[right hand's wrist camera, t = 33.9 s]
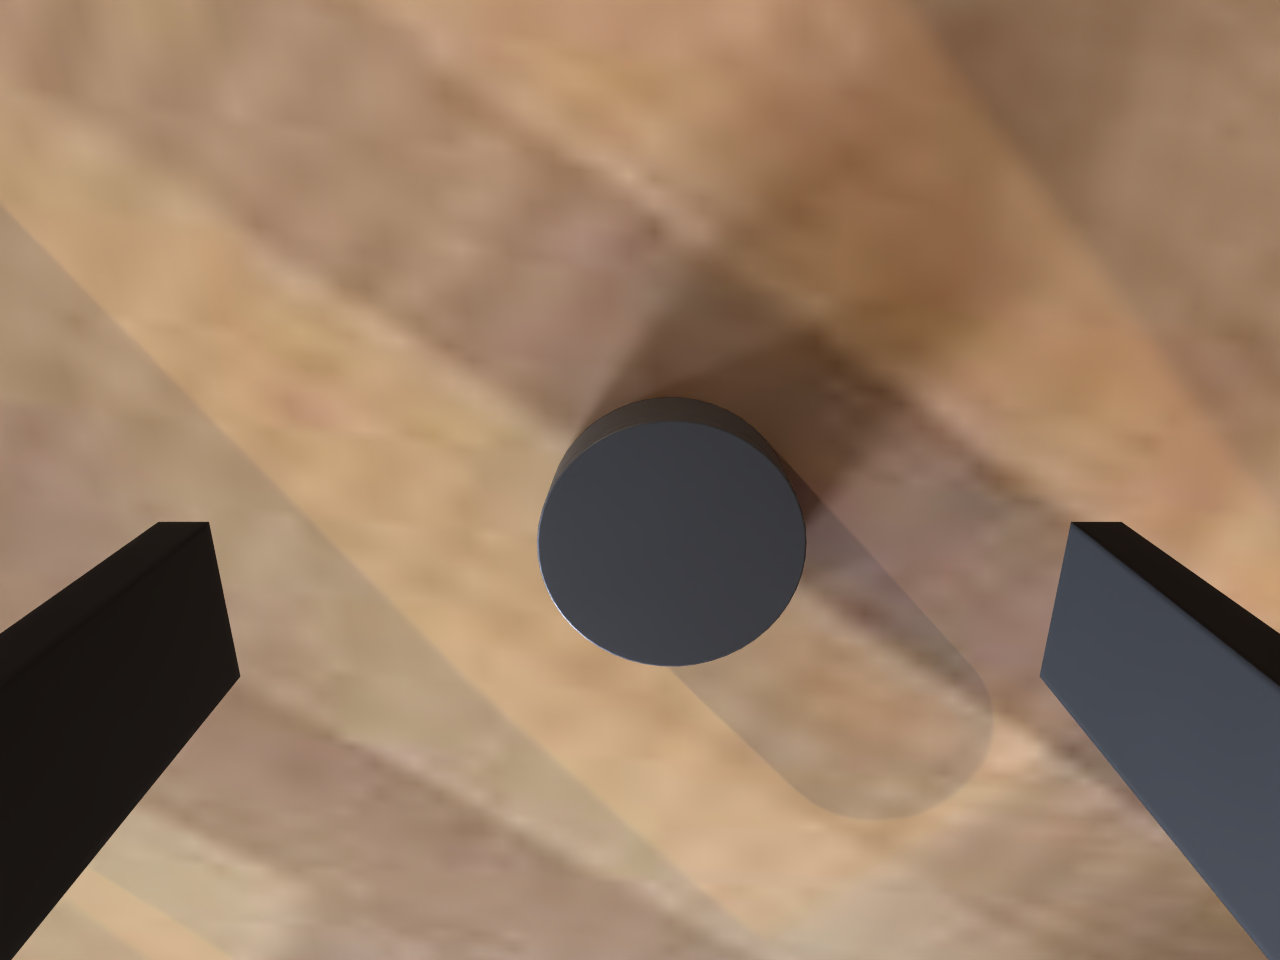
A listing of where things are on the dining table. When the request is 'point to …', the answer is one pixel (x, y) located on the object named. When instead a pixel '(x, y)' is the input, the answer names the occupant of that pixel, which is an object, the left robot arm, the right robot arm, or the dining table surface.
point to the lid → (671, 533)
